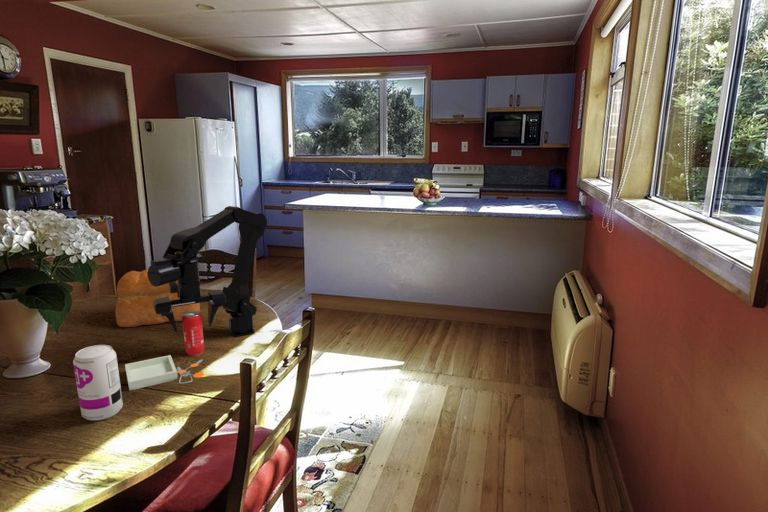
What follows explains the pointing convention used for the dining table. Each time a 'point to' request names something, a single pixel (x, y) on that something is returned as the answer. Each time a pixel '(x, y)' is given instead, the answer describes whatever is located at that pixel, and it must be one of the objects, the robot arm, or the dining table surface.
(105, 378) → the supplement can
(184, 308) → the bread
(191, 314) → the beverage can
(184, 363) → the dining table surface
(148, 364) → the tray
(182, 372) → the key chain
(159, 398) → the dining table surface
